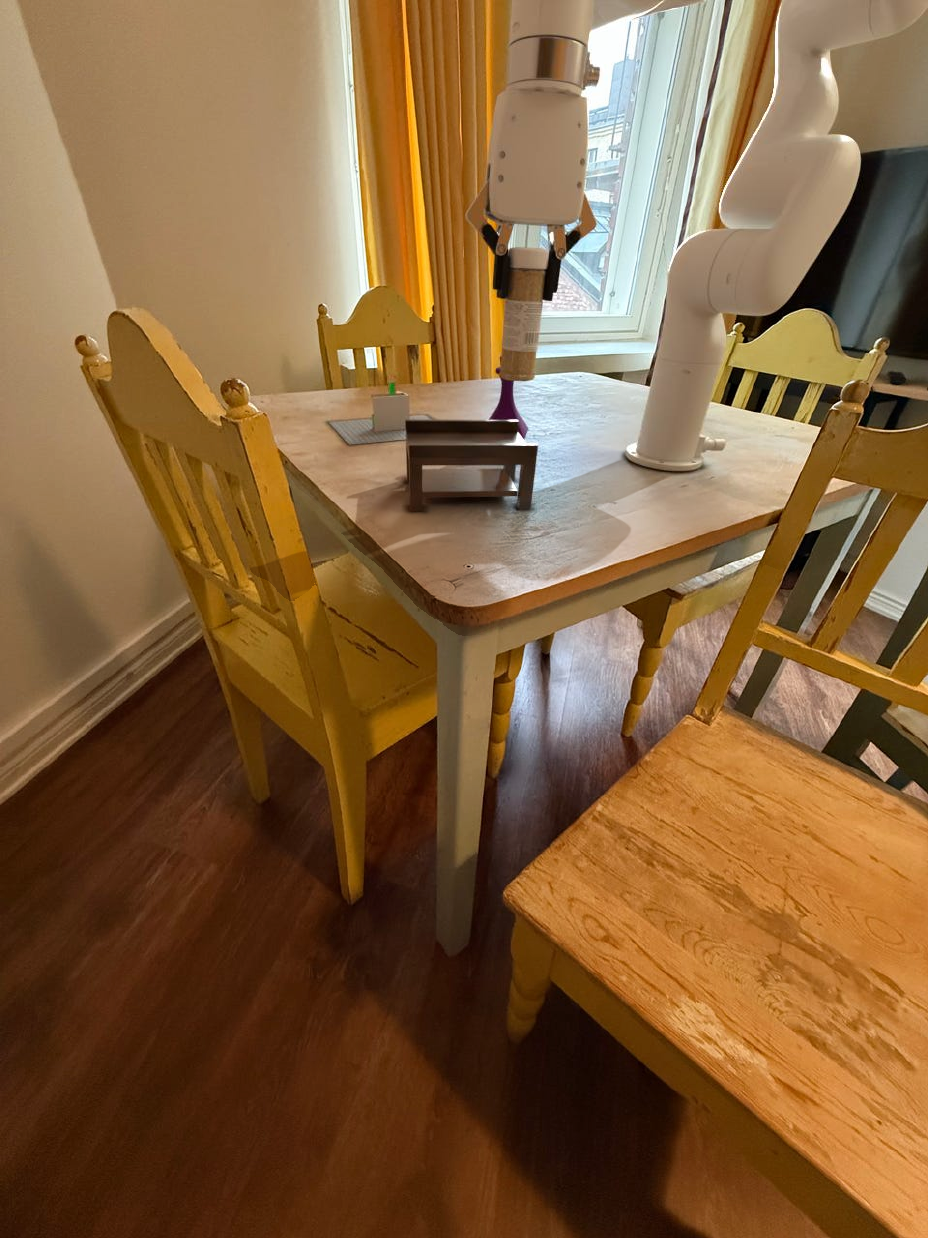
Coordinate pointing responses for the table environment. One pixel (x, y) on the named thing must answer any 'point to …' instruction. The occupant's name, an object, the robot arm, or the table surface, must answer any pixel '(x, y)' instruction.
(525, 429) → the perfume bottle
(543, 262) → the sprinkles bottle
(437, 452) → the rack
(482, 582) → the table surface
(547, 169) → the robot arm
